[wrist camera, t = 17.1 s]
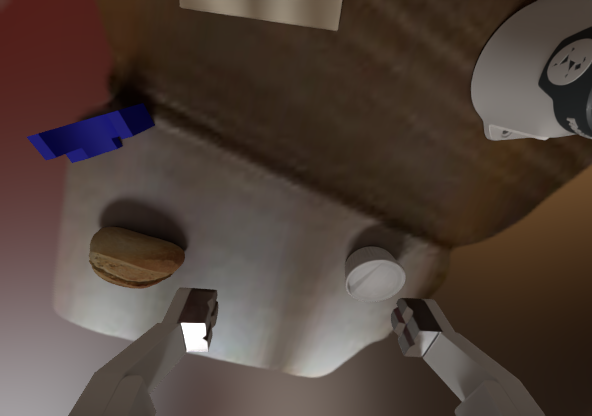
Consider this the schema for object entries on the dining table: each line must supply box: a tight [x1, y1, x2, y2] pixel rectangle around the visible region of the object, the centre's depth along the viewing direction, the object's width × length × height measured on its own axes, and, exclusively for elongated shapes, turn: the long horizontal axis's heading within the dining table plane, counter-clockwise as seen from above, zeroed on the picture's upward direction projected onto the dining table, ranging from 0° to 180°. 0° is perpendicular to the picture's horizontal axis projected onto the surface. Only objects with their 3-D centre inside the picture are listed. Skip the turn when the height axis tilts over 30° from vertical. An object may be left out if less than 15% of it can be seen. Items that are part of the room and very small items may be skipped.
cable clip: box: [27, 103, 155, 163], centre depth 32 cm, size 12×4×6 cm, turn 104°
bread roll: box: [89, 227, 185, 288], centre depth 42 cm, size 10×15×8 cm, turn 71°
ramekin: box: [345, 246, 405, 302], centre depth 48 cm, size 11×11×5 cm
